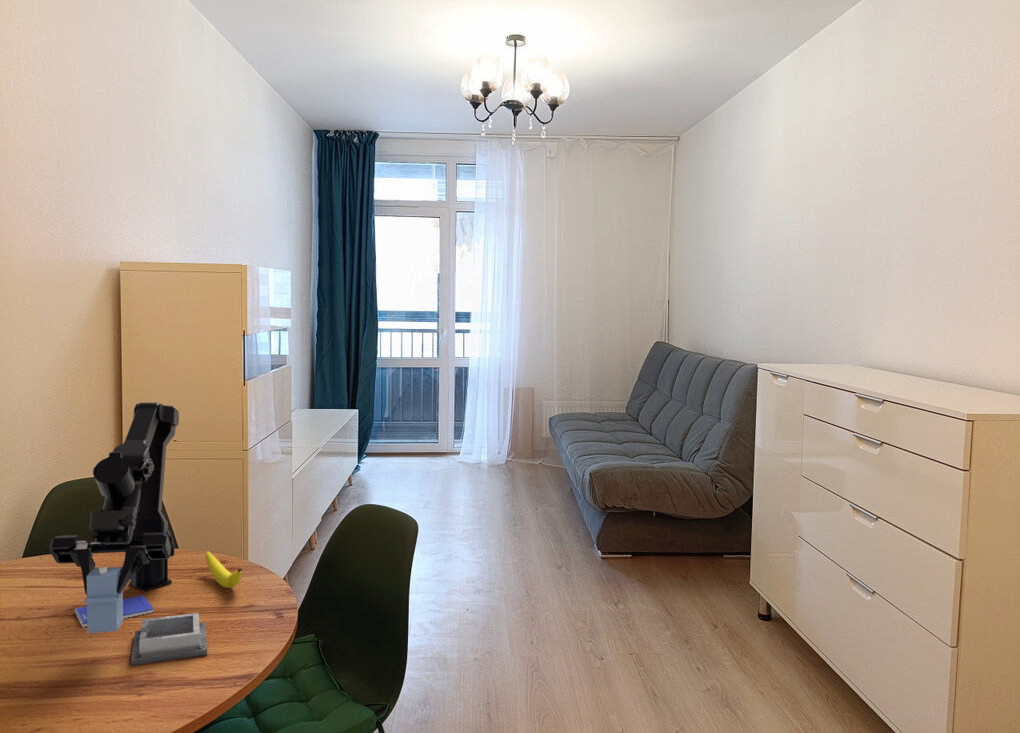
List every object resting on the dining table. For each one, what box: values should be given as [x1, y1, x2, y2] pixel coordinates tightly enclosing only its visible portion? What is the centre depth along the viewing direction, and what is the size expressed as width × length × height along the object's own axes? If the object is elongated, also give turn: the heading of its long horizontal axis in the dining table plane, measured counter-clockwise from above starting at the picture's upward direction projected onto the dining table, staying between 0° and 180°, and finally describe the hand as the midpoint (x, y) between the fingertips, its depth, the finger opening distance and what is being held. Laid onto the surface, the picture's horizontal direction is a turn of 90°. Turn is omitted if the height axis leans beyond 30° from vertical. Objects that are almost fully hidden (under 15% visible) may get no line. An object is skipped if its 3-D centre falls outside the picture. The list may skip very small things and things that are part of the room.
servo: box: [84, 566, 125, 634], centre depth 132 cm, size 6×5×11 cm
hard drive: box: [74, 595, 154, 628], centre depth 150 cm, size 2×8×12 cm
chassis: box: [130, 612, 208, 667], centre depth 137 cm, size 12×12×4 cm
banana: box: [205, 550, 243, 589], centre depth 166 cm, size 3×19×6 cm, turn 41°
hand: (102, 593), depth 131 cm, fingers closed on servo, 5 cm apart
